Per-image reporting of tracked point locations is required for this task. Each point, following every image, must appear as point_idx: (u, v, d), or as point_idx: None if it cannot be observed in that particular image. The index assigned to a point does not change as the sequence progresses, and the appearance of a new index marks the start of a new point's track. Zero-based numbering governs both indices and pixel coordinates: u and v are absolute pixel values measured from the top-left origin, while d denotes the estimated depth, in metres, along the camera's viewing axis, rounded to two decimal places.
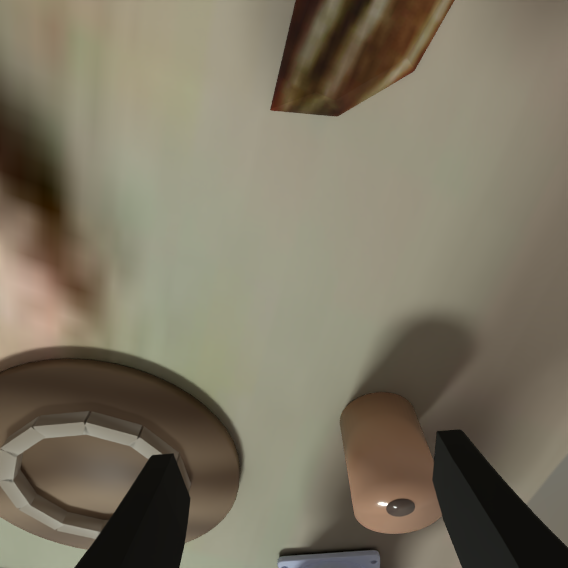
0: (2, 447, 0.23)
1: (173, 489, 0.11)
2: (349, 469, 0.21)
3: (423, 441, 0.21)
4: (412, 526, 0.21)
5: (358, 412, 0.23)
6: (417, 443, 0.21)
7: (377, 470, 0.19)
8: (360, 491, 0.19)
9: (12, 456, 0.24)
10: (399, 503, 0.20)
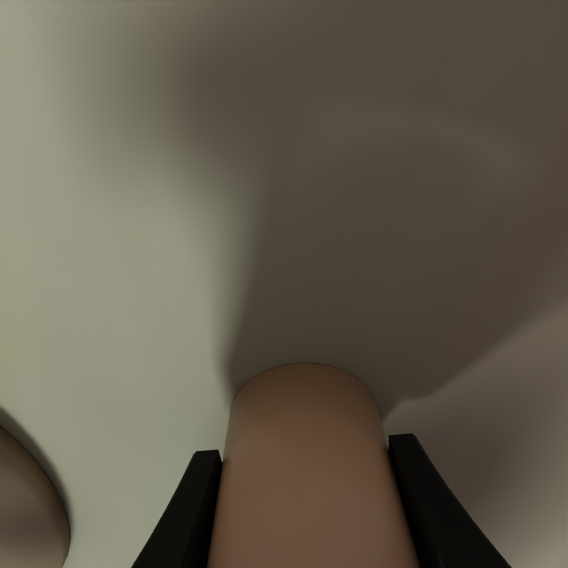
0: None
1: None
2: None
3: (383, 469, 0.09)
4: None
5: (251, 404, 0.11)
6: (367, 477, 0.09)
7: (250, 553, 0.07)
8: None
9: None
10: None
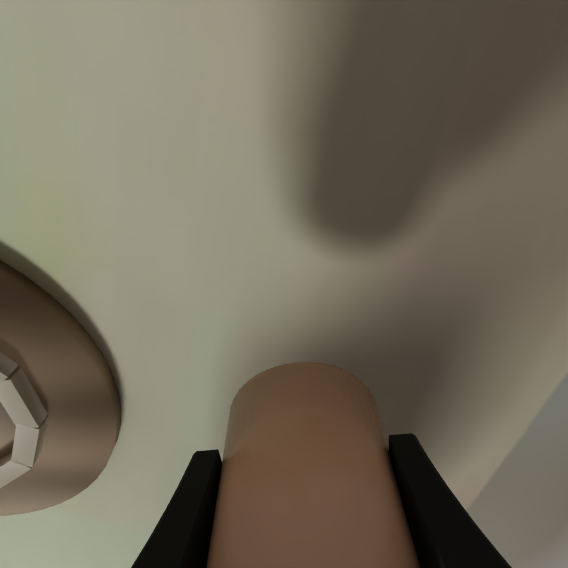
0: None
1: None
2: None
3: (382, 468, 0.09)
4: None
5: (251, 403, 0.11)
6: (367, 475, 0.09)
7: (250, 552, 0.07)
8: None
9: None
10: None
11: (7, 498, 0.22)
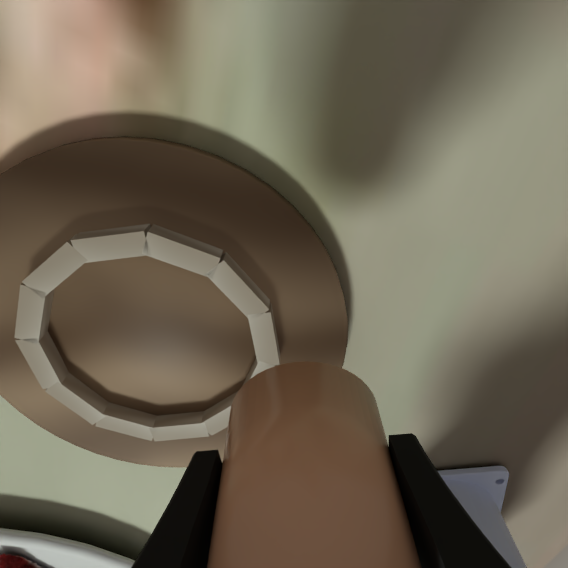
0: (24, 280, 0.16)
1: None
2: (212, 533, 0.09)
3: (383, 468, 0.09)
4: None
5: (251, 402, 0.11)
6: (367, 474, 0.09)
7: (251, 552, 0.07)
8: None
9: (38, 296, 0.17)
10: None
11: (207, 448, 0.22)
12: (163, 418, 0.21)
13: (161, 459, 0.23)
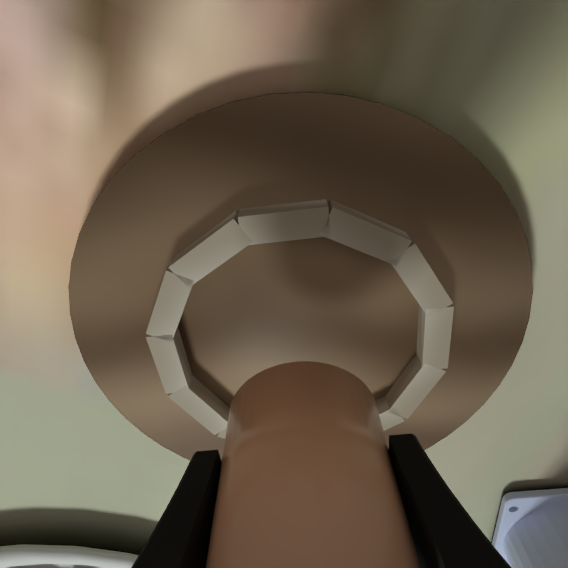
0: (172, 266, 0.14)
1: None
2: None
3: (383, 468, 0.09)
4: None
5: (250, 402, 0.11)
6: (367, 474, 0.09)
7: (250, 551, 0.07)
8: None
9: (184, 285, 0.14)
10: None
11: None
12: None
13: None
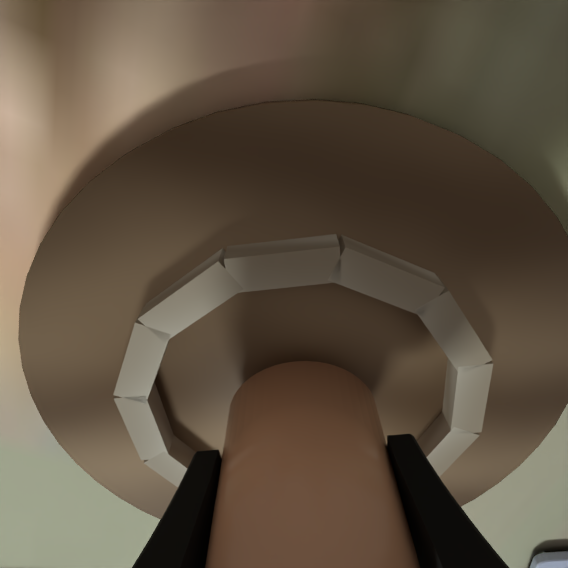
0: (142, 317, 0.11)
1: None
2: (210, 532, 0.09)
3: (382, 467, 0.09)
4: None
5: (250, 402, 0.11)
6: (366, 473, 0.09)
7: (249, 551, 0.07)
8: None
9: (159, 340, 0.11)
10: None
11: None
12: None
13: None
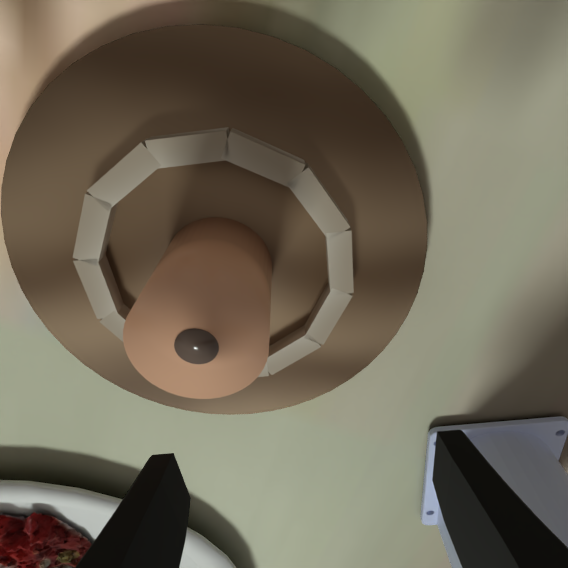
0: (90, 189, 0.15)
1: (173, 489, 0.11)
2: None
3: (252, 265, 0.14)
4: (226, 383, 0.14)
5: (174, 239, 0.16)
6: (237, 260, 0.14)
7: (154, 283, 0.12)
8: (127, 315, 0.12)
9: (103, 209, 0.15)
10: (192, 338, 0.13)
11: (262, 392, 0.21)
12: None
13: (212, 405, 0.22)
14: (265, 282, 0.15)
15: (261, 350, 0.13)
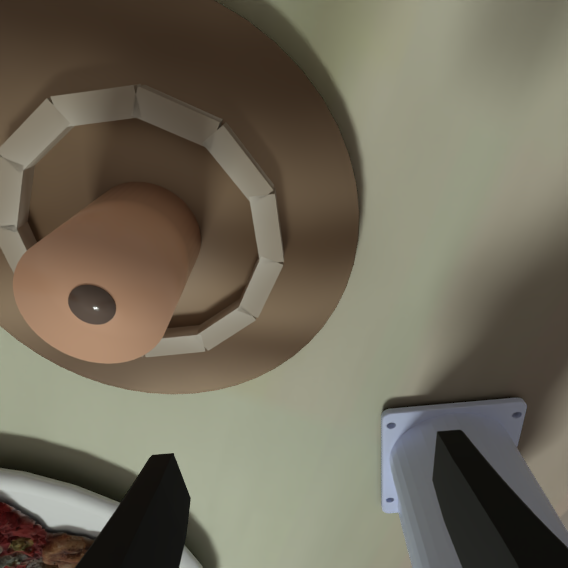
0: (0, 150, 0.15)
1: (173, 489, 0.11)
2: None
3: (162, 225, 0.14)
4: (129, 346, 0.13)
5: None
6: (142, 218, 0.13)
7: (44, 237, 0.12)
8: (16, 271, 0.12)
9: (15, 170, 0.15)
10: (87, 296, 0.12)
11: (204, 370, 0.21)
12: None
13: (154, 384, 0.21)
14: (177, 244, 0.14)
15: (160, 309, 0.12)
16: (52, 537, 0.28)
